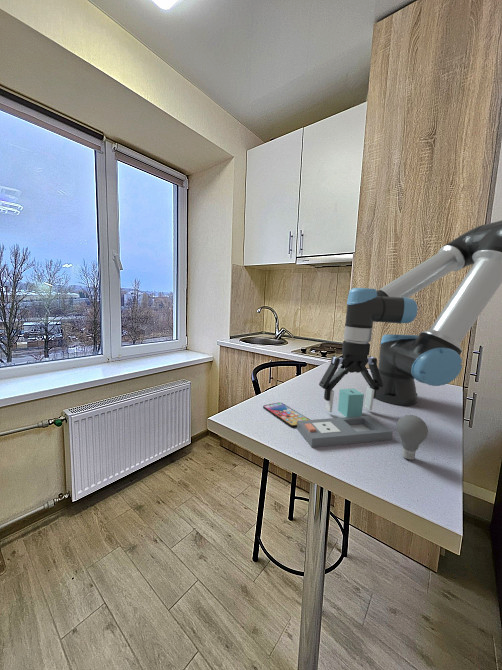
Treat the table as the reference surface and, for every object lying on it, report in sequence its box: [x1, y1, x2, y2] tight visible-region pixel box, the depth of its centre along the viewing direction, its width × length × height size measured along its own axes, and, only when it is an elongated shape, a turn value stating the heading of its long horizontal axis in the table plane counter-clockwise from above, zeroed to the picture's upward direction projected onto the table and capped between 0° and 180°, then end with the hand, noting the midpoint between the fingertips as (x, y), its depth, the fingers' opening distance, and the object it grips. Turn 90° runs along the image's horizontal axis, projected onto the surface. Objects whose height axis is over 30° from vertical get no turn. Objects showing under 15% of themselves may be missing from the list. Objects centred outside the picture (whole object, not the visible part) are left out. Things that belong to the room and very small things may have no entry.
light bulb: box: [396, 414, 429, 460], centre depth 60 cm, size 6×6×10 cm
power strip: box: [296, 415, 393, 448], centre depth 70 cm, size 22×9×3 cm, turn 103°
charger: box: [337, 388, 365, 417], centre depth 83 cm, size 5×5×7 cm
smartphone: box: [262, 402, 311, 429], centre depth 81 cm, size 7×1×15 cm
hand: (348, 409), depth 83 cm, fingers open, 13 cm apart
